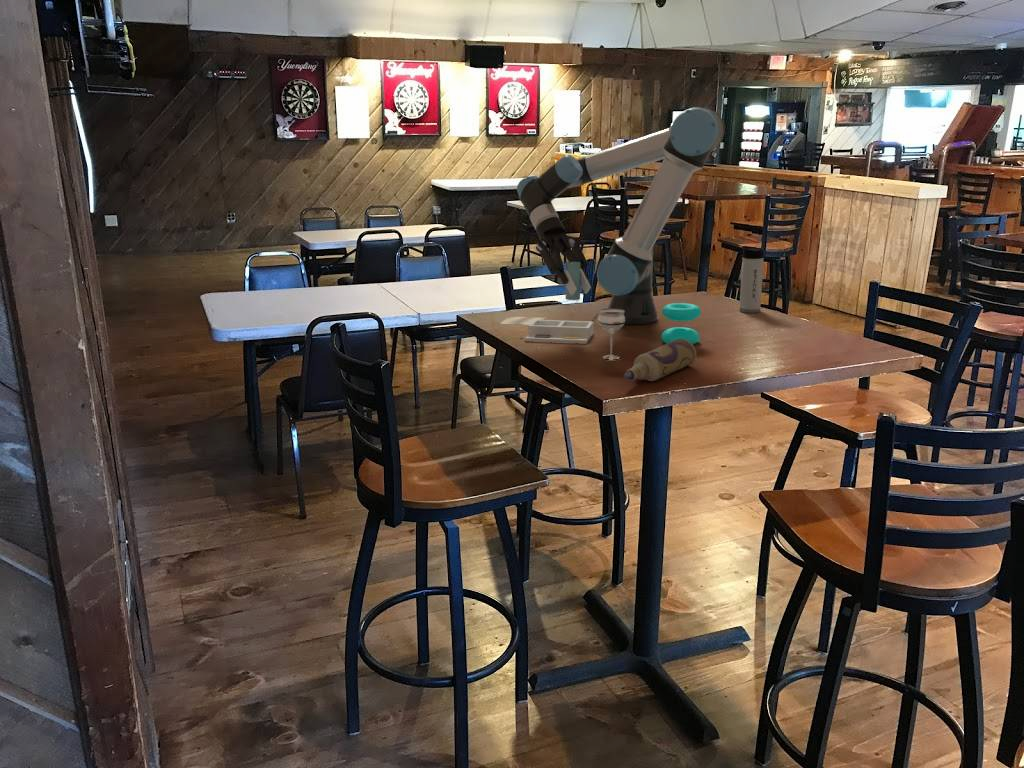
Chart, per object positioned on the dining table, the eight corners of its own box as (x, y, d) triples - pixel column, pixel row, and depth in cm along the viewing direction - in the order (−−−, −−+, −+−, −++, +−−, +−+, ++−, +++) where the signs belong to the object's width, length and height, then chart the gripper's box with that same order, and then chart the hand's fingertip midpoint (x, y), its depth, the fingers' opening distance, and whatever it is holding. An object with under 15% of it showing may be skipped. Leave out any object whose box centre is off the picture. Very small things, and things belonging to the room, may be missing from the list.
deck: (546, 321, 251) (546, 317, 251) (539, 328, 242) (539, 325, 242) (508, 319, 254) (508, 316, 254) (499, 327, 245) (499, 323, 245)
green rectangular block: (578, 297, 231) (579, 261, 228) (581, 299, 227) (581, 263, 224) (564, 297, 231) (564, 261, 228) (566, 300, 227) (566, 263, 224)
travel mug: (742, 308, 263) (746, 244, 257) (763, 310, 259) (767, 246, 253) (735, 311, 258) (738, 247, 252) (756, 313, 254) (760, 248, 248)
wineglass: (605, 353, 214) (606, 307, 210) (629, 356, 210) (630, 310, 206) (592, 359, 208) (593, 312, 205) (616, 362, 205) (617, 315, 201)
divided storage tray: (593, 333, 234) (593, 321, 233) (586, 343, 223) (586, 331, 222) (534, 331, 238) (534, 319, 237) (525, 341, 227) (524, 329, 226)
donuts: (703, 309, 215) (664, 309, 215) (702, 346, 218) (663, 347, 218) (697, 301, 224) (660, 302, 225) (696, 337, 227) (659, 338, 228)
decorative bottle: (669, 362, 204) (670, 336, 202) (697, 367, 199) (698, 341, 197) (609, 387, 186) (610, 358, 184) (638, 393, 181) (639, 364, 179)
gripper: (567, 230, 241) (600, 296, 232) (517, 235, 233) (549, 303, 224) (577, 213, 235) (612, 279, 226) (526, 217, 227) (560, 286, 218)
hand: (580, 291), depth 225 cm, fingers closed on green rectangular block, 4 cm apart
